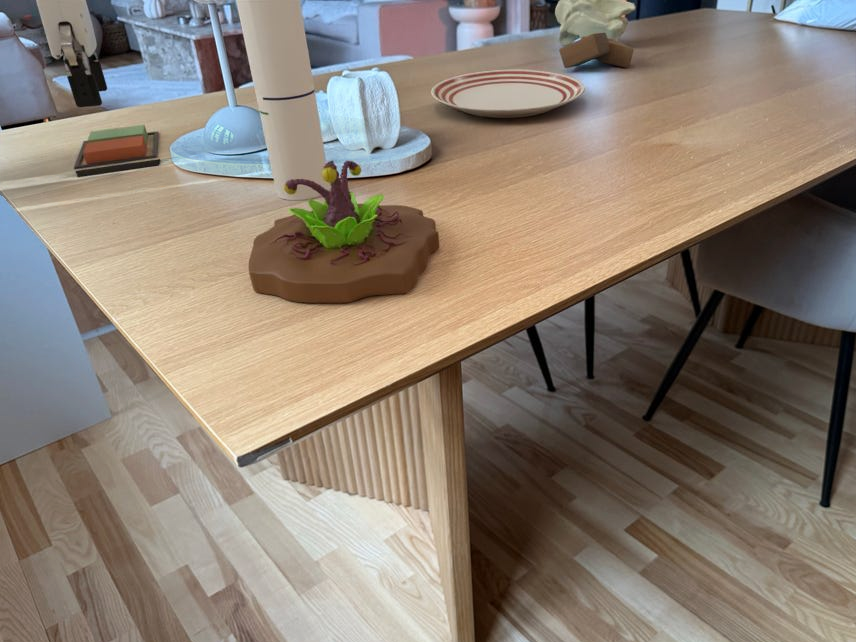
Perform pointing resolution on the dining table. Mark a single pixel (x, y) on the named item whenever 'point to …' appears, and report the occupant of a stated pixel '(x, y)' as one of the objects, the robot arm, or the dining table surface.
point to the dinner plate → (507, 92)
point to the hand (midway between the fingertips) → (93, 98)
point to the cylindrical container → (284, 92)
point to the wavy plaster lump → (591, 18)
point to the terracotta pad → (115, 149)
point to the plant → (342, 246)
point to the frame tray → (117, 167)
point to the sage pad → (118, 133)
